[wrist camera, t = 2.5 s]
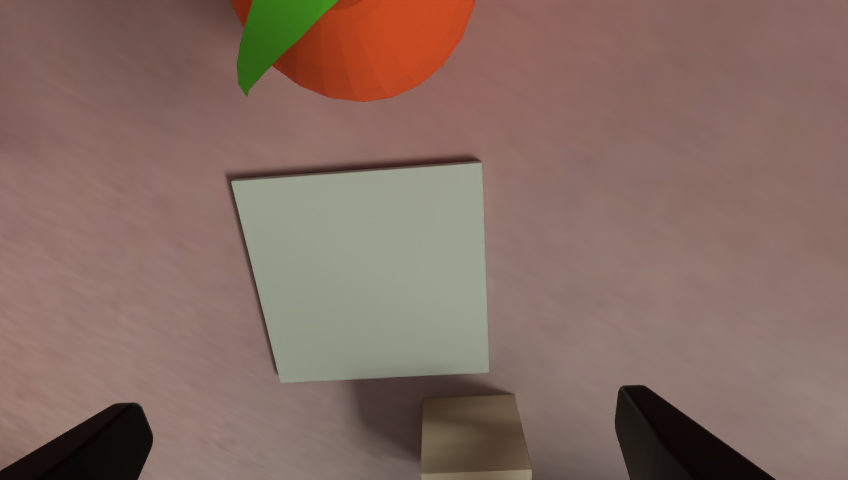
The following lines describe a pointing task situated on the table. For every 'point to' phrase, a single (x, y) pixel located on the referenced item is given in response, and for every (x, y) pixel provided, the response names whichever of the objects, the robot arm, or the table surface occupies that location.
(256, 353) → the table surface
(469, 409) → the sandy foam cube
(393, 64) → the clementine
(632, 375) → the table surface
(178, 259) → the table surface
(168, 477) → the table surface
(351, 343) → the pad
